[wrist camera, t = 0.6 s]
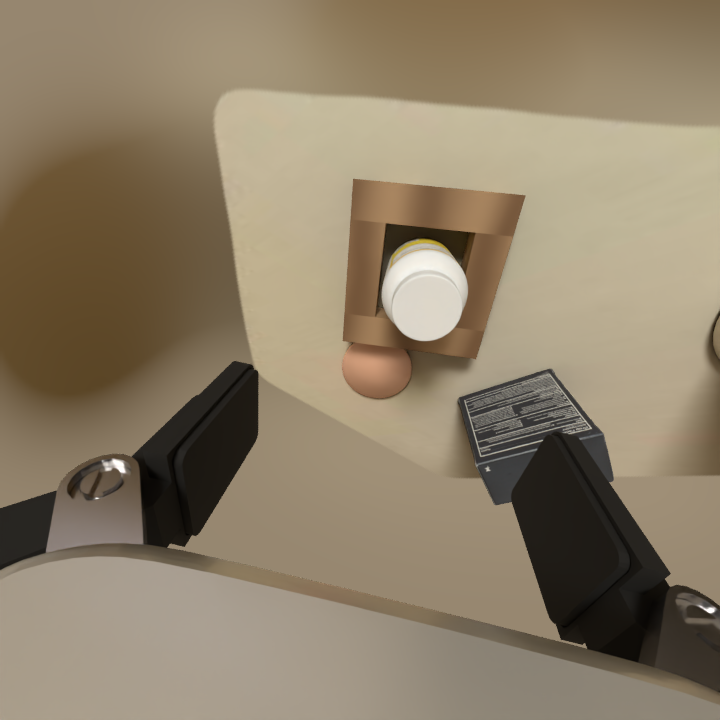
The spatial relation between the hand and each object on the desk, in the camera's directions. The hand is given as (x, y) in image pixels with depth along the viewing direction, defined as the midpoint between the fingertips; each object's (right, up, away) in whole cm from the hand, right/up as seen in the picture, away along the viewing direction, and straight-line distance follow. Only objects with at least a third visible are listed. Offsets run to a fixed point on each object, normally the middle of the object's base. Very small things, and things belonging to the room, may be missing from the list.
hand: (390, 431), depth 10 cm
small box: (+17, -3, +27) cm, 32 cm away
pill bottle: (+5, +11, +21) cm, 24 cm away
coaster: (+1, +1, +27) cm, 27 cm away
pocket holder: (+5, +11, +21) cm, 24 cm away
